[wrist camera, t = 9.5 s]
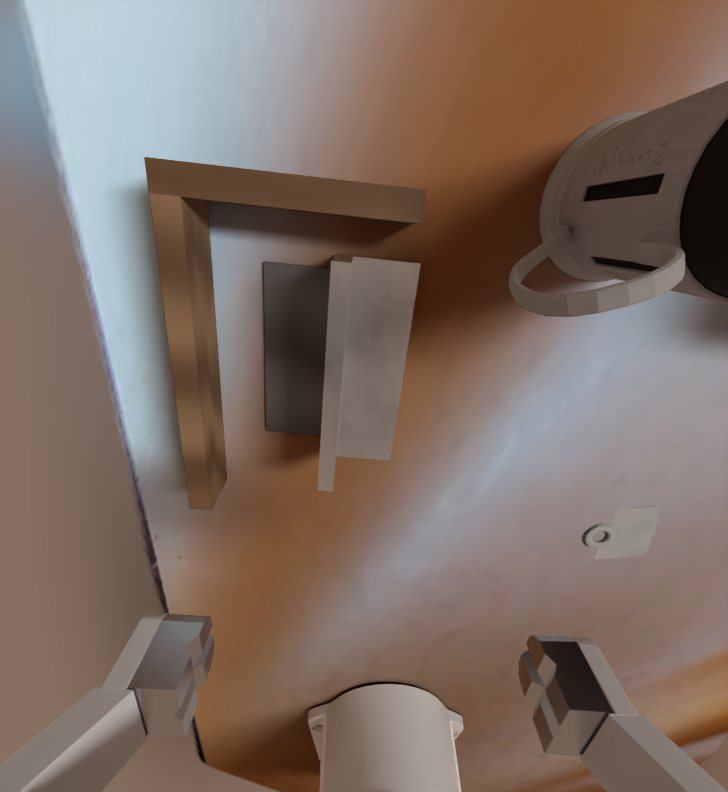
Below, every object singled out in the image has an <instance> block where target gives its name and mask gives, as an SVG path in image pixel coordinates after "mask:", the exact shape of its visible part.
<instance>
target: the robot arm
mask: <svg viewBox="0 0 728 792" xmlns="http://www.w3.org/2000/svg"><path fill="white" fill-rule="evenodd" d="M211 627H212V620H211V616H196V615H180V614H170V613H152V612H148V613H146V614H145V615H144V617H143V618H142V619H141V620H140V621H139V624H138V625H137V627H136V629H135V630H134V632H133V634H132V635H131V637H130V639H129V641H128V642H127V644H126V646H125V647H124V649H123V651H122V653H121V654H120V656H119V658H118V660H117V661H116V663H115V665H114V666H113V668H112V670H111V672H110V674H109V675H108V677H107V679H106V680H105V682H104V684H103V685H102V687H101V688H93V689H92V690H91V691H90V692H88V693H87V694H86V695H85V696H84V697H82V698H81V699H80V700H79V701H78V702H76V703H75V704H74V705H73V706H72V707H70V708H69V709H68V710H67V711H65V712H64V713H63V714H62V715H61V716H59V717H58V718H57V719H56V720H54V721H53V722H52V723H51V724H50V725H49V726H47V727H46V728H45V729H44V730H42V731H41V732H40V733H39V734H37V735H36V736H35V737H34V738H33V739H31V740H30V741H29V742H28V743H27V744H25V745H24V746H23V747H22V748H20V749H19V750H18V751H17V752H16V753H14V754H13V755H12V756H11V757H10V758H8V759H7V760H6V761H5V762H3V763H2V764H1V765H0V792H102V790H103V789H104V788H105V787H106V786H107V785H108V783H109V782H110V781H111V780H112V779H113V778H114V777H115V775H116V774H117V773H118V772H119V771H120V770H121V769H122V767H123V766H124V765H125V764H126V763H127V762H128V761H129V759H130V758H131V757H132V756H133V755H134V754H135V753H136V751H137V750H138V749H139V748H140V747H141V746H142V744H143V743H144V742H145V741H146V739H147V737H148V736H149V737H186V735H187V732H188V729H189V726H190V724H191V721H192V718H193V715H194V712H195V710H196V707H197V704H198V698H197V691H196V690H197V689H198V688H199V687H200V686H201V685H202V684H203V683H204V682H205V681H206V678H207V675H208V672H209V669H210V666H211V662H212V658H213V653H214V637H213V636H212V635H211V634H210V630H211ZM526 644H527V646H528V649H529V650H527V651H526V652H524V653H523V654H522V655H521V657H520V660H519V678H520V683H521V687H522V690H523V693H524V696H525V698H526V699H527V700H528V701H529V702H530V703H531V704H532V705H533V706H534V708H535V710H534V714H533V721H534V724H535V727H536V730H537V733H538V735H539V738H540V741H541V744H542V747H543V750H544V752H545V753H546V754H558V755H571V756H582V757H581V758H580V759H581V760H582V761H583V763H584V764H585V765H586V767H587V768H588V769H589V770H590V772H591V773H592V774H593V776H594V777H595V778H596V779H597V781H598V782H599V783H600V785H601V786H602V787H603V788H604V790H605V791H606V792H727V791H726V790H725V789H724V788H722V787H721V786H720V785H719V784H718V783H717V782H716V781H715V780H714V779H713V778H712V777H710V776H709V775H708V774H707V773H706V772H705V771H704V770H703V769H702V768H701V767H700V766H698V765H697V764H696V763H695V762H694V761H693V760H692V759H691V758H690V757H689V756H688V755H686V754H685V753H684V752H683V751H682V750H681V749H680V748H679V747H678V746H677V745H676V744H674V743H673V742H672V741H671V740H670V739H669V738H668V737H667V736H666V735H665V734H664V733H662V732H661V731H660V730H659V729H658V728H657V727H656V726H655V725H654V724H653V723H652V722H650V721H649V720H648V719H647V718H646V717H645V716H643V715H638V714H637V713H636V711H635V709H634V708H633V706H632V704H631V702H630V701H629V699H628V697H627V695H626V694H625V692H624V690H623V688H622V687H621V685H620V683H619V682H618V680H617V678H616V676H615V675H614V673H613V671H612V669H611V668H610V666H609V664H608V662H607V661H606V659H605V657H604V656H603V654H602V652H601V650H600V649H599V647H598V645H597V644H596V643H595V642H594V641H593V640H592V639H590V638H583V637H569V636H547V635H532V636H530V637H529V638H528V641H527V643H526ZM308 725H309V728H310V731H311V734H312V738H313V741H314V744H315V747H316V751H317V754H318V757H319V770H320V774H321V776H320V792H461V787H460V779H459V772H458V765H457V757H456V750H455V743H454V740H455V739H456V738H457V737H458V735H459V734H460V733H461V732H462V731H463V728H464V727H463V718H462V717H461V716H460V715H459V714H457V713H455V712H453V711H450V710H448V709H447V708H446V707H445V706H444V705H443V704H442V703H441V701H440V700H439V699H438V698H436V697H435V696H434V695H432V694H430V693H428V692H426V691H424V690H422V689H419V688H415V687H411V686H406V685H398V684H378V685H370V686H365V687H361V688H357V689H354V690H351V691H349V692H347V693H345V694H343V695H341V696H340V697H338V698H337V699H335V700H334V701H332V702H330V703H328V704H325V705H322V706H318V707H315V708H313V709H311V710H309V712H308Z"/></svg>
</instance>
